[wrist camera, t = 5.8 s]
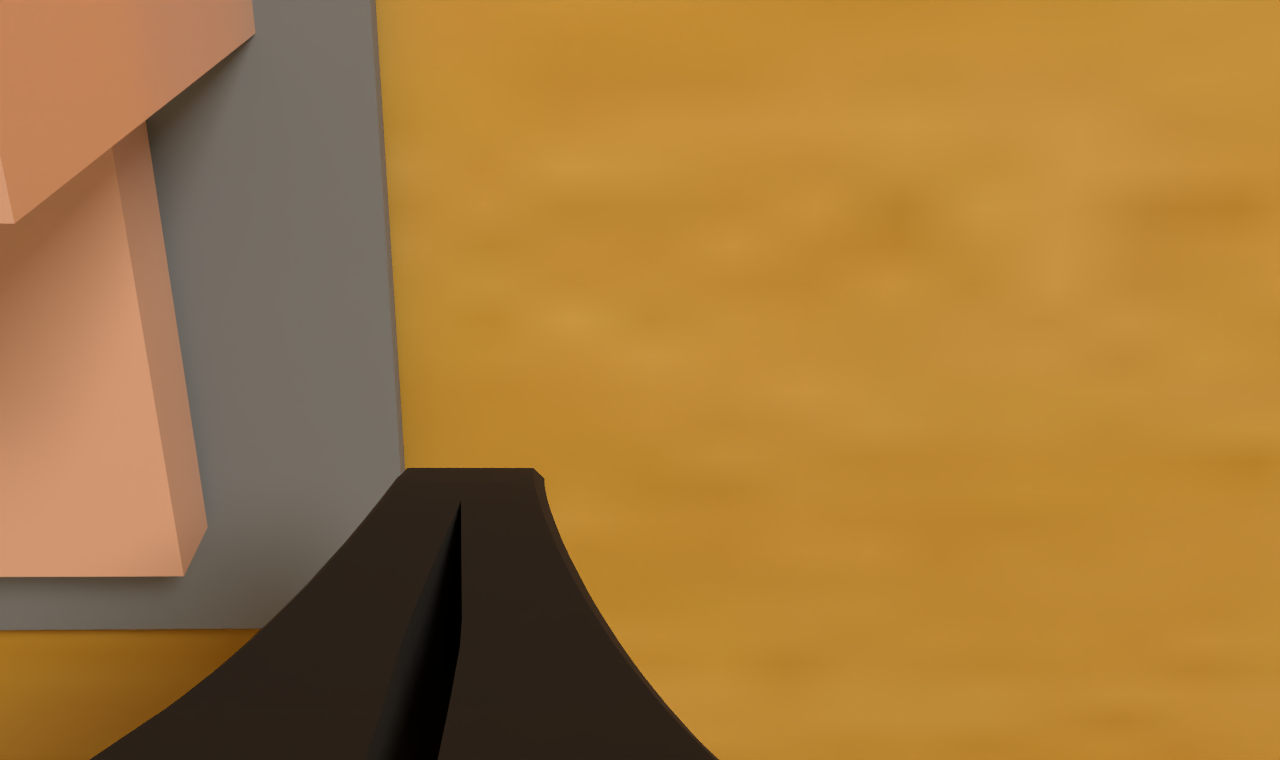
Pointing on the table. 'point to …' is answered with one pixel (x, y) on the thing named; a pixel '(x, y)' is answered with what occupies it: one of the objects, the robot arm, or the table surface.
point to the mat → (267, 323)
